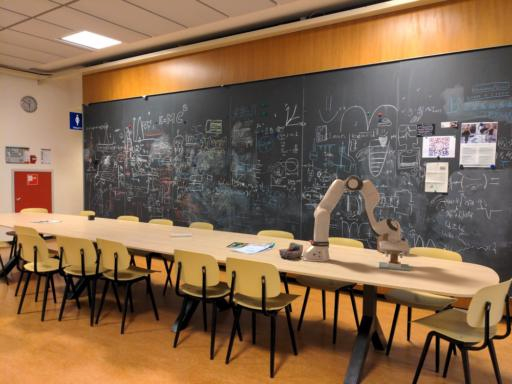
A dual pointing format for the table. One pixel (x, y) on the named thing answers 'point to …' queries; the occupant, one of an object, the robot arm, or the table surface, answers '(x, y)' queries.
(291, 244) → the cell model
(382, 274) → the table surface
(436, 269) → the table surface
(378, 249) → the block
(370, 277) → the table surface
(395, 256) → the pillar
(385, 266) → the board
